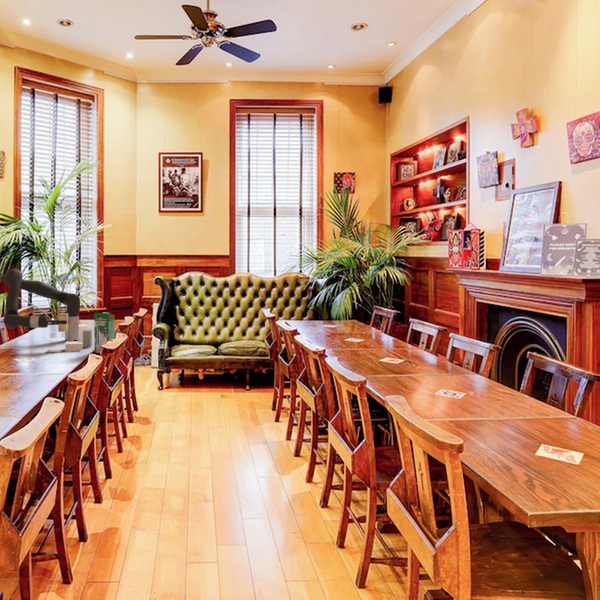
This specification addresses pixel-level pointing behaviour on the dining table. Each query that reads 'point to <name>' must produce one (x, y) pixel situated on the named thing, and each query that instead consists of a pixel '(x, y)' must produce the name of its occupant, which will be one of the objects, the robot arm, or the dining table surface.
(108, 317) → the milk carton
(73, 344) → the base block
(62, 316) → the maple block
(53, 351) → the tile
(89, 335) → the slate block
